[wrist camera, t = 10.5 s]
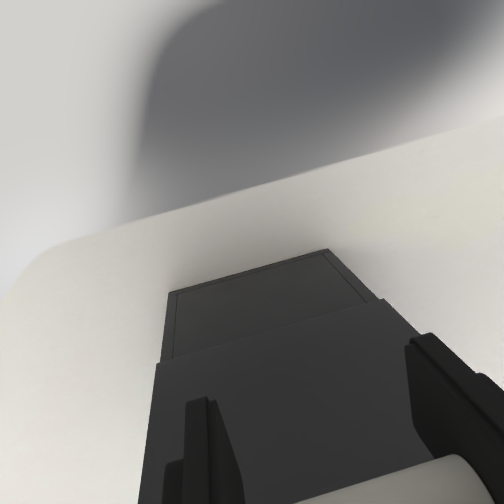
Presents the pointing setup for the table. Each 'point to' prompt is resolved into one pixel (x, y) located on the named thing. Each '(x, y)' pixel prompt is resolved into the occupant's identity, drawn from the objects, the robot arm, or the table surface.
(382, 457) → the lid
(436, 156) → the table surface
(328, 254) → the dark grey open box
